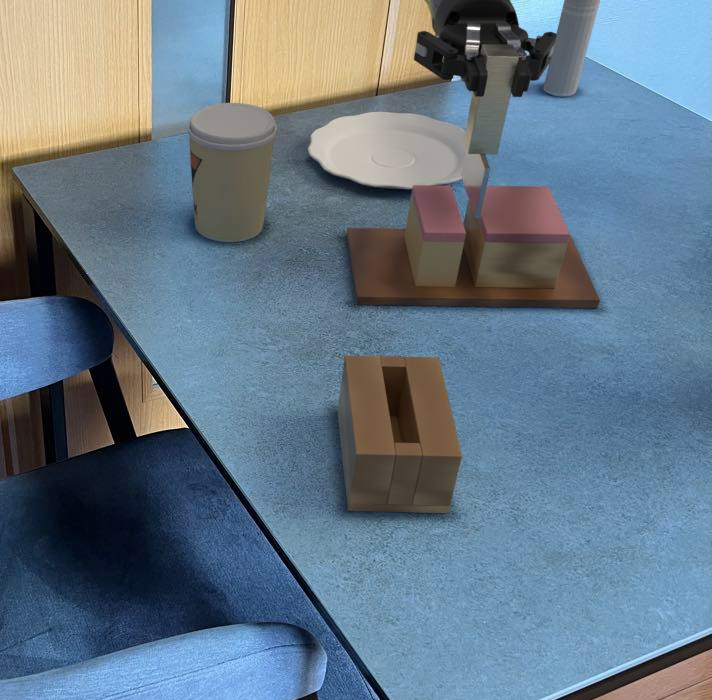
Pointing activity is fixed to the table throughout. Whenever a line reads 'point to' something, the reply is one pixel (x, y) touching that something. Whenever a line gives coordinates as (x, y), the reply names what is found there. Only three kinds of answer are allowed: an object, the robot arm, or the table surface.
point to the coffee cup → (230, 169)
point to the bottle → (570, 46)
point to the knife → (487, 120)
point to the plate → (390, 150)
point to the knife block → (397, 435)
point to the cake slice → (434, 236)
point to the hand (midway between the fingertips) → (501, 85)
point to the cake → (483, 259)
